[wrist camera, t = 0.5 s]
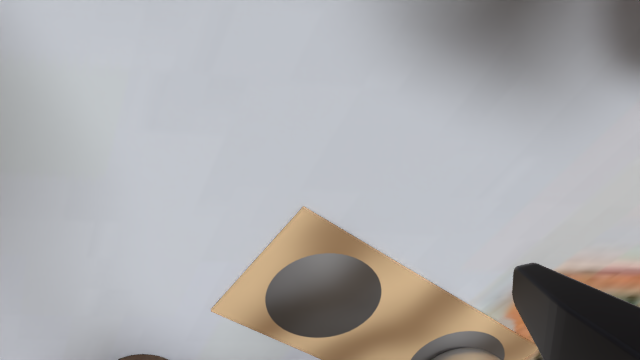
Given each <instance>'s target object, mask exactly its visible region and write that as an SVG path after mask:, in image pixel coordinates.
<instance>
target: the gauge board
mask: <svg viewBox="0 0 640 360" xmlns="http://www.w3.org/2000/svg"><path fill="white" fill-rule="evenodd" d="M211 311H212V312H214V313H216V314H218V315H221V316H223V317H225V318H228V319H230V320H232V321H234V322H237V323H239V324H241V325H244V326H246V327H248V328H251V329H253V330H255V331H257V332H260V333H262V334H264V335H267V336H269V337H271V338H273V339H276V340H278V341H280V342H283V343H285V344H287V345H290V346H292V347H294V348H296V349H299V350H301V351H303V352H306V353H308V354H310V355H313V356H315V357H317V358H319V359H322V360H432V359H433V358H435V357H436V356H438V355H440V354H442V353H445V352H447V351H450V350H454V349H459V348H478V349H482V350H485V351H487V352H489V353H491V354H492V355H494V356H496V357H498V358H499V359H500V360H524V359H526V358H527V357H529V356H530V355H532V354H533V353H534V352H536V351H537V350H539V349H538V347H537V346H536V344H534V343H532V342H531V341H529V340H527V339H526V338H524V337H522V336H521V335H519V334H517V333H516V332H514V331H512V330H510V329H509V328H507V327H505V326H504V325H502V324H500V323H499V322H497V321H495V320H494V319H492V318H490V317H489V316H487V315H485V314H484V313H482V312H480V311H479V310H477V309H475V308H474V307H472V306H470V305H468V304H467V303H465V302H463V301H462V300H460V299H458V298H457V297H455V296H453V295H452V294H450V293H448V292H447V291H445V290H443V289H442V288H440V287H438V286H437V285H435V284H433V283H432V282H430V281H428V280H427V279H425V278H423V277H421V276H420V275H418V274H416V273H415V272H413V271H411V270H410V269H408V268H406V267H405V266H403V265H401V264H400V263H398V262H396V261H395V260H393V259H391V258H390V257H388V256H386V255H385V254H383V253H381V252H379V251H378V250H376V249H374V248H373V247H371V246H369V245H368V244H366V243H364V242H363V241H361V240H359V239H358V238H356V237H354V236H353V235H351V234H349V233H348V232H346V231H344V230H343V229H341V228H339V227H338V226H336V225H334V224H332V223H331V222H329V221H327V220H326V219H324V218H322V217H321V216H319V215H317V214H316V213H314V212H312V211H311V210H309V209H307V208H306V207H304V206H303V207H302V208H301V210H300V211H299V212H298V213H297V214H296V215H295V216H294V217H293V218H292V220H291V221H290V222H289V223H288V224H287V225H286V226H285V227H284V228H283V230H282V231H281V232H280V233H279V234H278V235H277V236H276V237H275V238H274V240H273V241H272V242H271V243H270V244H269V245H268V246H267V247H266V249H265V250H264V251H263V252H262V253H261V254H260V255H259V256H258V257H257V259H256V260H255V261H254V262H253V263H252V264H251V265H250V266H249V267H248V269H247V270H246V271H245V272H244V273H243V274H242V275H241V276H240V278H239V279H238V280H237V281H236V282H235V283H234V284H233V285H232V286H231V288H230V289H229V290H228V291H227V292H226V293H225V294H224V295H223V296H222V298H221V299H220V300H219V301H218V302H217V303H216V304H215V305H214V306H213V308H212V309H211Z"/></svg>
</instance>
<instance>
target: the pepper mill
mask: <svg viewBox="0 0 640 360" xmlns="http://www.w3.org/2000/svg"><path fill="white" fill-rule="evenodd" d="M119 360H168V359H165V358H163V357H159V356H155V355H146V354H140V355H131V356H127V357H124V358H121V359H119Z"/></svg>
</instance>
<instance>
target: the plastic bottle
mask: <svg viewBox="0 0 640 360" xmlns="http://www.w3.org/2000/svg"><path fill="white" fill-rule="evenodd" d="M432 360H500V359H499V358H498V357H496V356H494V355H492V354H491V353H489V352H487V351H485V350H482V349H478V348H459V349H454V350H450V351H447V352H445V353H442V354H440V355H438V356H436V357H435V358H433V359H432Z"/></svg>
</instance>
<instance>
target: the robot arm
mask: <svg viewBox="0 0 640 360" xmlns="http://www.w3.org/2000/svg"><path fill="white" fill-rule="evenodd" d="M512 296H513V300H514V304H515V306H516V308H517V310H518V312H519V314H520V316H521V318H522V319H523V321H524V323H525V325H526V327H527V329H528V331H529V333H530V334H531V336H532V338H533V340H534V342H535V344H536V346H537V347H538V349H539V351H540V353H541V355H542V357H543V359H544V360H640V307H637V306H635V305H633V304H630V303H628V302H626V301H623V300H621V299H619V298H616V297H614V296H612V295H609V294H607V293H605V292H602V291H600V290H598V289H595V288H593V287H591V286H588V285H586V284H584V283H581V282H579V281H577V280H574V279H572V278H570V277H567V276H565V275H563V274H560V273H558V272H556V271H553V270H551V269H549V268H546V267H544V266H542V265H539V264H536V263H529V264H525V265H520V266H517V267H516V268H515V269H514V274H513V290H512Z"/></svg>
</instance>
